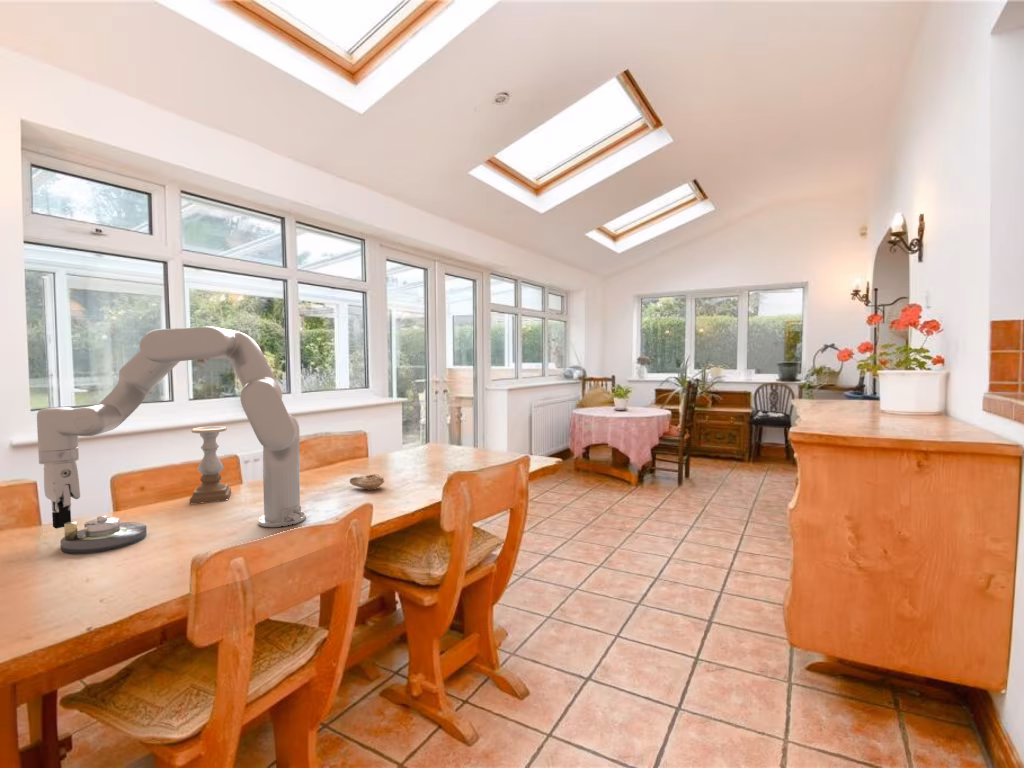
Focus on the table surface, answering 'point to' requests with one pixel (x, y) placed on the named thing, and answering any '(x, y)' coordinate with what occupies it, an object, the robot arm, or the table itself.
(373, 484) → the pottery oil lamp
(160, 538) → the table surface
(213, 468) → the candle holder
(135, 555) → the table surface
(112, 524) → the cover
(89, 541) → the turntable
